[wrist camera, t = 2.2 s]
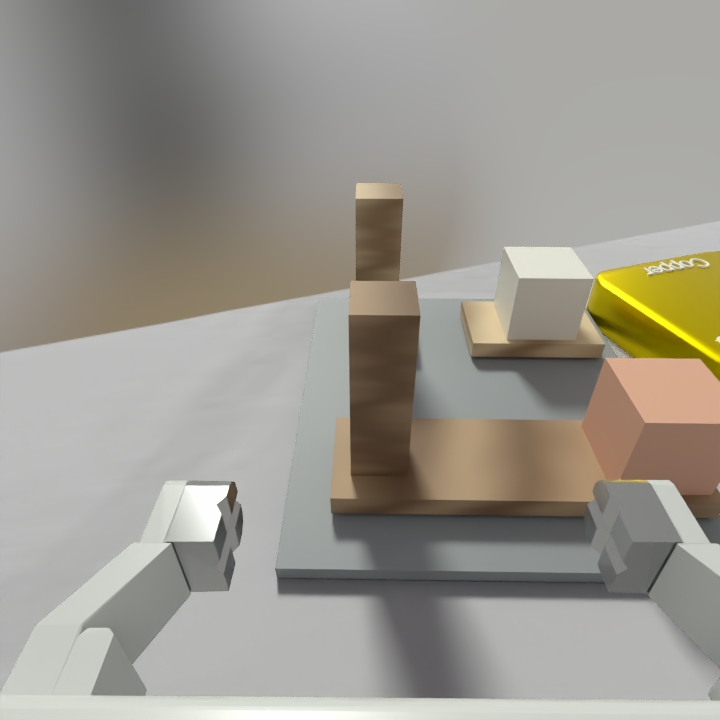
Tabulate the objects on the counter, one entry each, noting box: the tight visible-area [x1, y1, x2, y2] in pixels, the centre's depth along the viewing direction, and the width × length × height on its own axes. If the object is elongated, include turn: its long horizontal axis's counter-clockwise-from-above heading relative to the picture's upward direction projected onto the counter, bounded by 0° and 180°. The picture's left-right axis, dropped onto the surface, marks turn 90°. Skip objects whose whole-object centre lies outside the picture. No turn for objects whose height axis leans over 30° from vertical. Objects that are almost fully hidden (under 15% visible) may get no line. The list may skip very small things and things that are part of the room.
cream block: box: [493, 247, 594, 340], centre depth 38 cm, size 5×5×5 cm
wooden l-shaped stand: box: [330, 281, 720, 518], centre depth 26 cm, size 20×6×11 cm, turn 89°
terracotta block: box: [582, 358, 720, 495], centre depth 27 cm, size 5×5×5 cm
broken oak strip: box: [356, 183, 605, 358], centre depth 37 cm, size 18×6×11 cm, turn 89°
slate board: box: [275, 298, 720, 583], centre depth 35 cm, size 23×26×1 cm
